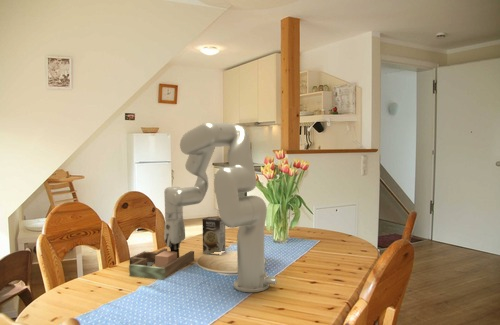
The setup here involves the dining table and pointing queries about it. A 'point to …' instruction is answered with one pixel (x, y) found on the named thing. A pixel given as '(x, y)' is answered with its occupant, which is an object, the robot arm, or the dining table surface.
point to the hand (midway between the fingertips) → (174, 257)
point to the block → (165, 258)
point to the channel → (142, 270)
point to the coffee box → (213, 235)
